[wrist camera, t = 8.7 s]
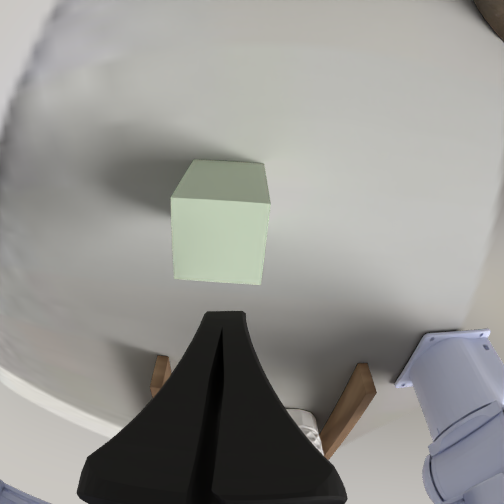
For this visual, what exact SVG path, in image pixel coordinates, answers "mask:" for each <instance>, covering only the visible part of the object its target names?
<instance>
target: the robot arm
mask: <svg viewBox="0 0 504 504" xmlns="http://www.w3.org/2000/svg"><path fill="white" fill-rule="evenodd" d="M490 332H491V331H490V330H489V329H478V330H466V331H454V332H440V333H427V334H425V335H424V336H423V337H422V339H421V341H420V343H419V344H418V346H417V348H416V350H415V351H414V353H413V355H412V356H411V358H410V360H409V361H408V363H407V365H406V366H405V368H404V370H403V371H402V373H401V374H400V376H399V377H398V379H397V381H396V382H395V384H394V385H395V388H402V387H410V386H413V387H414V390H415V392H416V395H417V398H418V400H419V403H420V406H421V408H422V411H423V414H424V417H425V419H426V422H427V425H428V428H429V431H430V434H431V437H432V440H433V443H432V444H430V445H429V446H428V448H429V452H430V454H429V455H428V456H427V457H426V458H425V462H424V465H423V470H422V475H423V483H424V486H425V489H426V492H427V494H428V496H429V498H430V499H431V500H432V502H433V503H434V504H504V364H503V363H502V361H501V359H500V358H499V356H498V355H497V352H496V351H495V349H494V348H493V346H492V344H491V343H490V341H489V340H488V336H489V334H490ZM77 495H78V496H79V498H80V499H82V500H83V501H85V502H87V503H88V504H345V502H346V501H347V494H346V491H345V487H344V485H343V482H342V480H341V478H340V476H339V474H338V473H337V471H336V469H335V467H334V466H333V465H332V464H331V463H330V462H329V461H328V460H327V459H326V458H325V457H324V456H323V455H322V453H321V452H320V451H319V450H318V449H317V448H316V447H315V446H314V445H313V444H312V442H311V441H310V440H309V439H308V438H307V437H306V436H305V434H304V433H303V432H302V430H301V429H300V428H299V427H298V425H297V424H296V423H295V421H294V420H293V419H292V417H291V416H290V415H289V413H288V412H287V410H286V409H285V407H284V406H283V404H282V403H281V401H280V400H279V398H278V396H277V395H276V393H275V391H274V390H273V388H272V386H271V384H270V382H269V381H268V379H267V377H266V375H265V373H264V371H263V369H262V366H261V364H260V362H259V360H258V357H257V355H256V352H255V350H254V347H253V345H252V342H251V339H250V335H249V332H248V328H247V323H246V313H244V312H243V311H210V312H206V313H205V314H204V317H203V319H202V321H201V324H200V326H199V328H198V330H197V332H196V334H195V336H194V338H193V340H192V342H191V343H190V345H189V347H188V348H187V350H186V352H185V354H184V355H183V357H182V359H181V360H180V362H179V363H178V365H177V366H176V368H175V369H174V371H173V372H172V374H171V375H170V377H169V378H168V379H167V381H166V382H165V384H164V385H163V386H162V387H161V389H160V390H159V391H158V392H157V394H156V395H155V396H154V397H153V399H152V400H151V401H150V402H149V403H148V404H147V405H146V406H145V408H144V409H143V410H142V411H141V412H140V413H139V414H138V415H137V416H136V417H135V418H134V419H133V420H132V421H131V422H130V423H129V424H128V425H126V426H125V427H124V428H123V429H122V430H121V431H120V432H119V433H118V434H117V435H116V436H114V437H113V438H112V439H111V440H110V441H109V442H107V443H105V445H103V446H102V447H100V448H99V449H97V450H96V451H95V452H93V453H92V454H91V455H89V456H88V457H87V460H86V462H85V465H84V467H83V470H82V472H81V476H80V480H79V485H78V489H77ZM0 504H51V503H48V502H45V501H43V500H41V499H38V498H36V497H33V496H31V495H29V494H27V493H25V492H22V491H20V490H18V489H16V488H14V487H12V486H9V485H8V484H6V483H4V482H3V481H2V480H0Z"/></svg>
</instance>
